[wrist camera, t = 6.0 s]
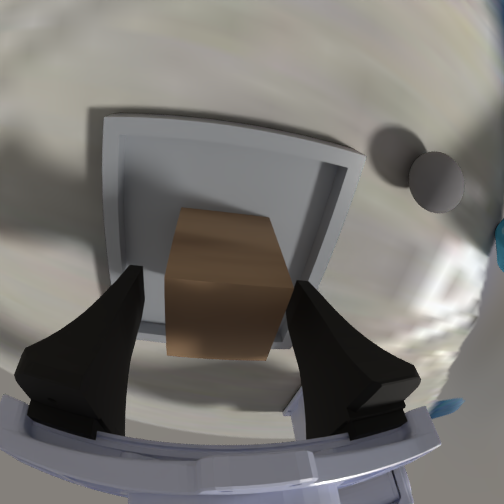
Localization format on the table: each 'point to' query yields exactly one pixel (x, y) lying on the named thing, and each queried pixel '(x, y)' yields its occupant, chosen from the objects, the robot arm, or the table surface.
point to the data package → (500, 244)
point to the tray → (219, 194)
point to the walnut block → (224, 286)
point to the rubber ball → (436, 182)
